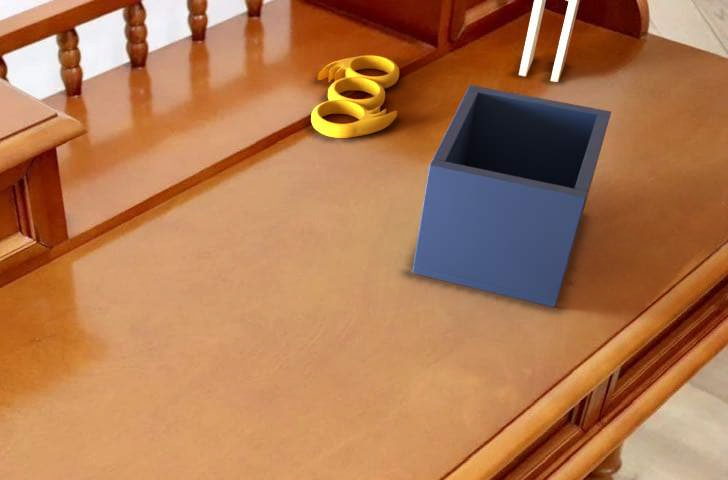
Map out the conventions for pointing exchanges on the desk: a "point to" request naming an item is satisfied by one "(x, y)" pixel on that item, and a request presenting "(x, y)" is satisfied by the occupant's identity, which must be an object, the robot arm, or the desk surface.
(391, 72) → the yellow winged triple ring
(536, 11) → the clip
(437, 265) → the bin
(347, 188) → the desk surface
